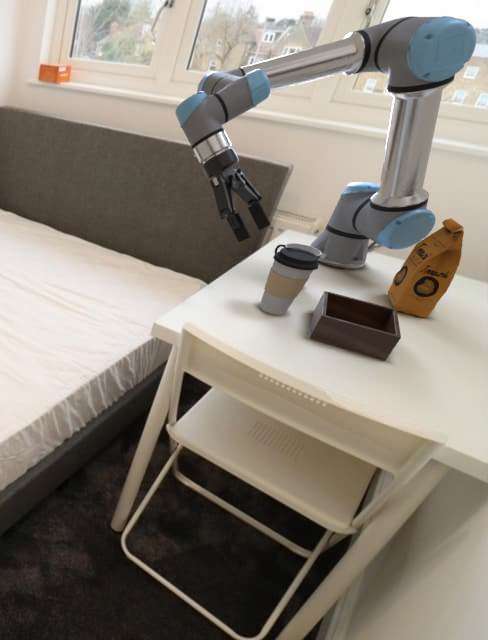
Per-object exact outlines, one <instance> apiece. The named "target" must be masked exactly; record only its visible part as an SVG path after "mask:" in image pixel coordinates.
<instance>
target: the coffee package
mask: <svg viewBox="0 0 488 640" xmlns="http://www.w3.org/2000/svg"><path fill="white" fill-rule="evenodd" d="M441 223H442V225H443V226H442V227H441V228H439V229H437V230H436V231H434V232H433V233H430V234H428V235H427V236H426V237H425V238H423V239H422V240H421V241H420V242H418V243H417V244H415V245H414V247H413V249H412V251H411V252H410V253H409V255H408V256H407V258H405V259H406V260H405V261H404V262H403V264H402V265H401V268H400V269H399V270H398V271H397V272H396V273H395V275H394V276H393V279H392V282H391V285H390V287H389V288H388V289H387V291H386V293H387V296H388V298H389V301H390V303H391V305H392V307H393V308H394V309H397V312H403V313H404V314H406V315H407V314H408V315H412V316H416V317H419V318H424V319H427V318H429V316H430V315H431V313H432V312H433V311H434V309H435V308H436V306H437V304H438V303H439V302H440V300H441V299H442V298H443V296H444V295H445V294H446V292H447V291H448V289H449V287H450V286H451V284H452V282H453V280H454V278H455V275H456V272H457V270H458V268H459V266H460V262H461V259H462V254H463V253H462V252H463V251H462V249H463V242H464V234H465V232H464V226H463V225H461V224H460V223H459V222H457V221H456V220H454V219H453V218H452V217H451V218H447V219H444V220H443V221H442V222H441Z"/></svg>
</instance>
